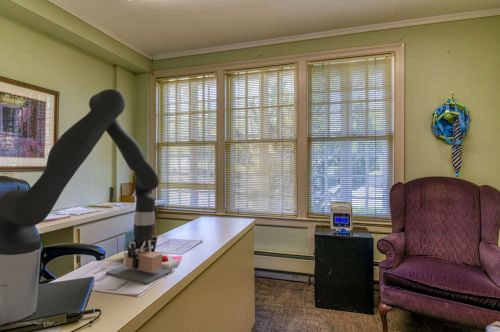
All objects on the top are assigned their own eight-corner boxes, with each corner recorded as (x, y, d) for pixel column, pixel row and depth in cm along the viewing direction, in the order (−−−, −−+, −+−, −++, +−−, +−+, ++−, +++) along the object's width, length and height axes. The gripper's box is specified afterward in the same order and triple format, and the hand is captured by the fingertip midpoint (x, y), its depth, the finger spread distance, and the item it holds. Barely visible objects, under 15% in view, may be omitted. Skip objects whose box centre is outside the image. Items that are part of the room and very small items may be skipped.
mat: (147, 284, 97) (147, 282, 97) (105, 274, 105) (106, 271, 105) (172, 272, 110) (172, 270, 110) (134, 263, 118) (134, 261, 118)
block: (161, 268, 107) (133, 262, 113) (162, 254, 107) (134, 248, 113) (151, 272, 102) (123, 266, 107) (152, 257, 102) (124, 251, 108)
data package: (151, 259, 125) (153, 232, 125) (144, 262, 121) (145, 234, 121) (131, 255, 129) (132, 229, 130) (123, 257, 125) (125, 231, 125)
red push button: (183, 255, 121) (168, 261, 111) (182, 265, 120) (167, 272, 111) (161, 250, 125) (144, 256, 116) (160, 260, 125) (144, 266, 116)
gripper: (149, 219, 116) (147, 259, 116) (122, 224, 103) (119, 269, 102) (164, 221, 113) (161, 262, 113) (137, 226, 100) (134, 273, 99)
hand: (141, 265), depth 107 cm, fingers closed on block, 5 cm apart
